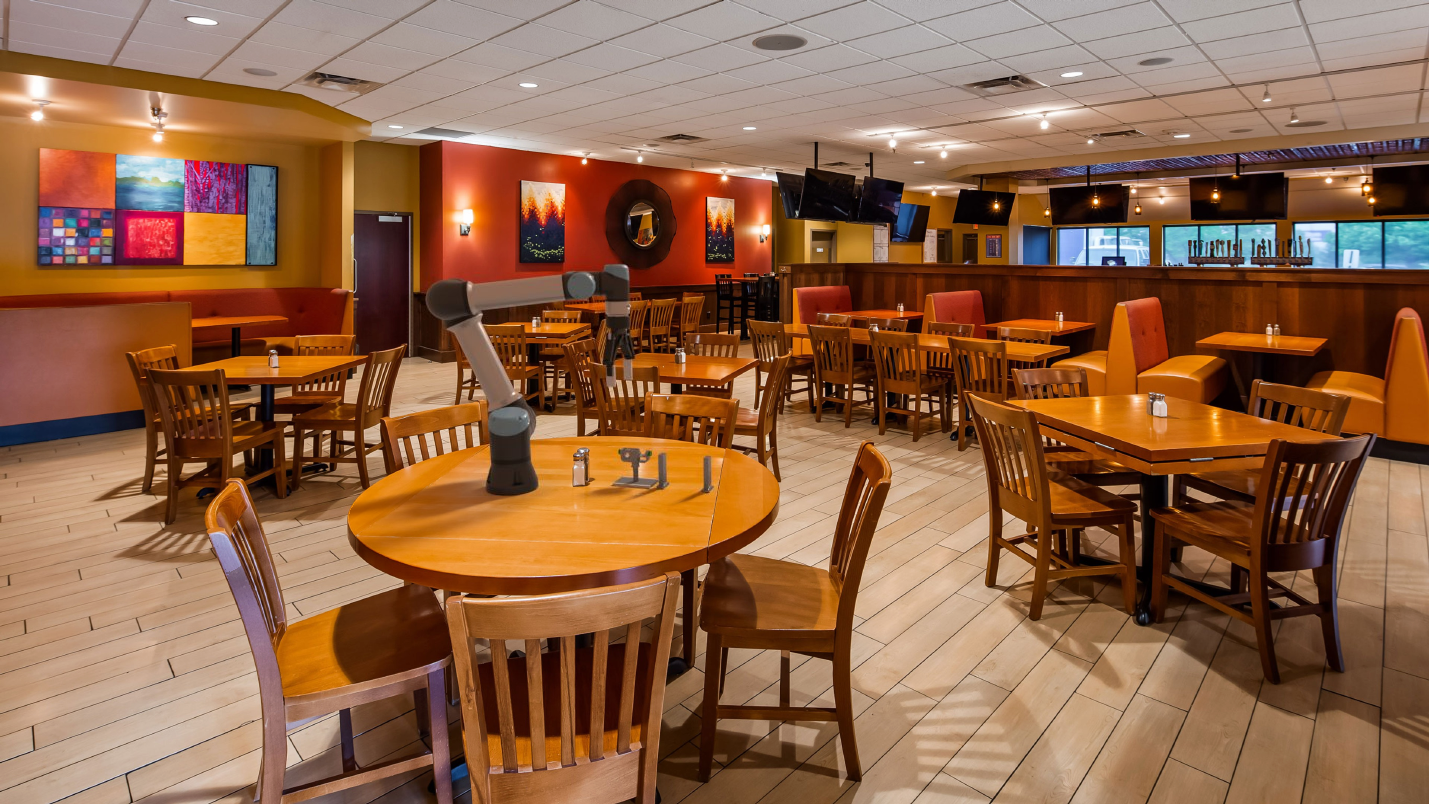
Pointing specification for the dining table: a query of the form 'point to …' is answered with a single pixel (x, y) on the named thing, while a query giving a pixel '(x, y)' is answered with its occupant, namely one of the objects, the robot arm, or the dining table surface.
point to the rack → (663, 473)
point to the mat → (640, 483)
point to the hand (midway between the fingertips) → (619, 383)
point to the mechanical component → (634, 458)
